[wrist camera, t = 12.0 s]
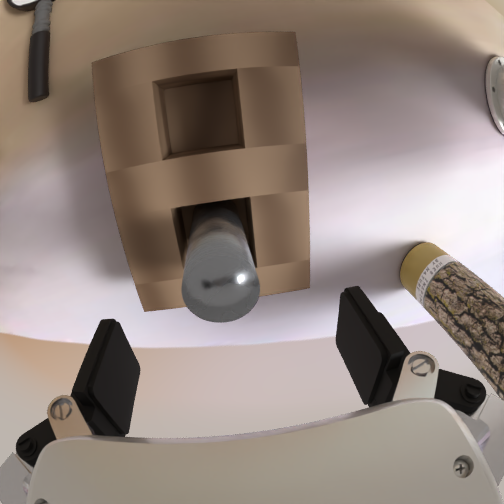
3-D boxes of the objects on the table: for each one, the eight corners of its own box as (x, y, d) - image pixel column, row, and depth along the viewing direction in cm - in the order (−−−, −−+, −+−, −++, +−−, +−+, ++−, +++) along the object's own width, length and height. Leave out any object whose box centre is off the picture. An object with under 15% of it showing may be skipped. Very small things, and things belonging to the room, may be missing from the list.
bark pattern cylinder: (398, 295, 34) (512, 441, 11) (396, 251, 31) (546, 405, 8) (435, 275, 34) (553, 398, 11) (437, 232, 31) (583, 354, 8)
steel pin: (235, 191, 24) (256, 250, 14) (240, 234, 26) (263, 316, 15) (189, 198, 24) (173, 262, 13) (197, 240, 26) (190, 326, 15)
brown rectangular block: (276, 51, 20) (295, 32, 15) (291, 256, 29) (309, 288, 24) (117, 74, 19) (91, 62, 14) (154, 276, 28) (144, 311, 23)
